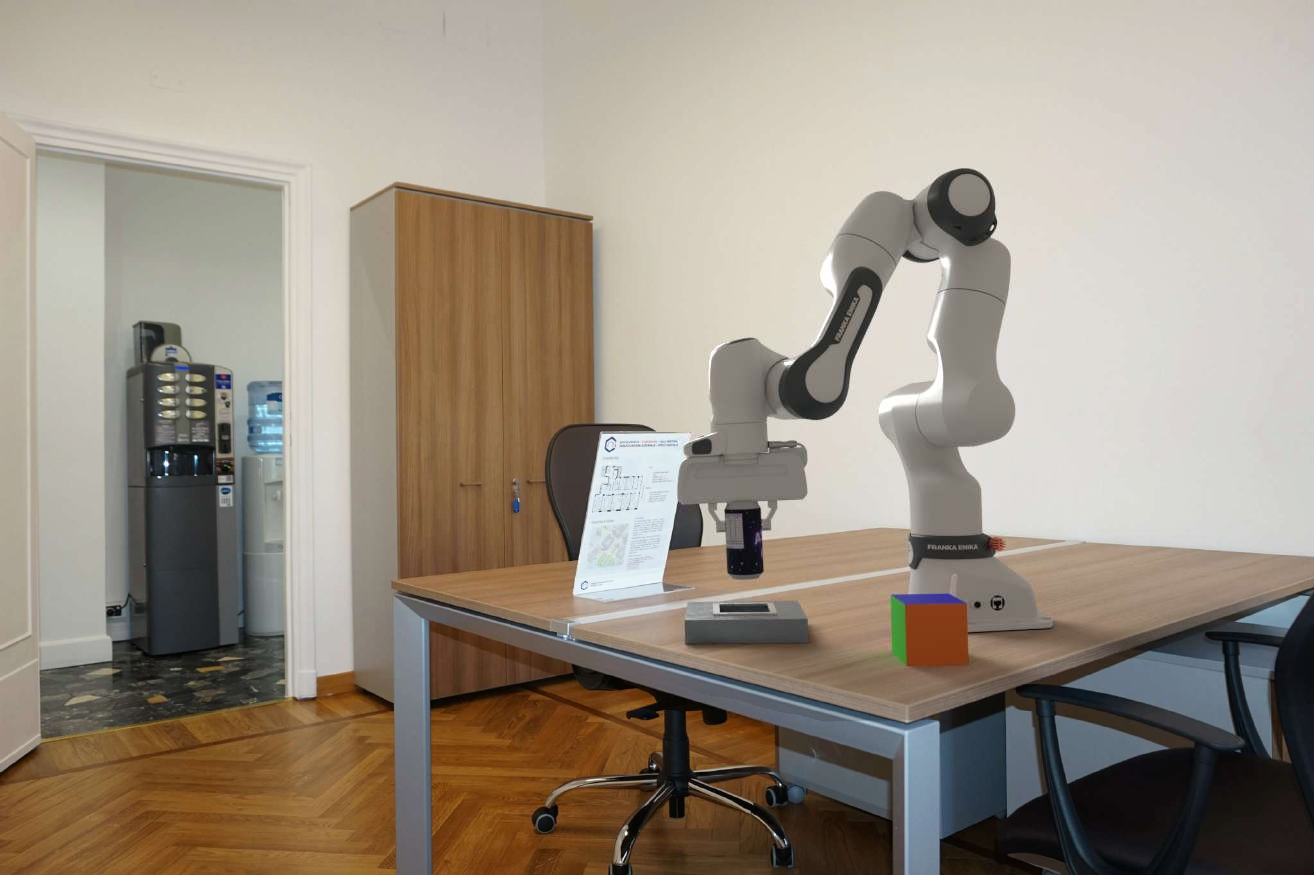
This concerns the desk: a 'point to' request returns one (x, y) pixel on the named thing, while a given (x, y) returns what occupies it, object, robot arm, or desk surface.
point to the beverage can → (744, 540)
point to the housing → (745, 622)
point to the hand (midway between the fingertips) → (743, 531)
